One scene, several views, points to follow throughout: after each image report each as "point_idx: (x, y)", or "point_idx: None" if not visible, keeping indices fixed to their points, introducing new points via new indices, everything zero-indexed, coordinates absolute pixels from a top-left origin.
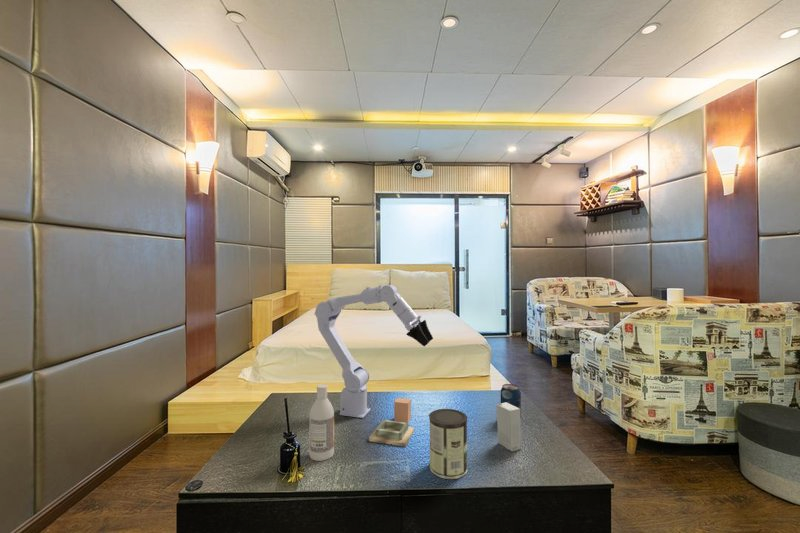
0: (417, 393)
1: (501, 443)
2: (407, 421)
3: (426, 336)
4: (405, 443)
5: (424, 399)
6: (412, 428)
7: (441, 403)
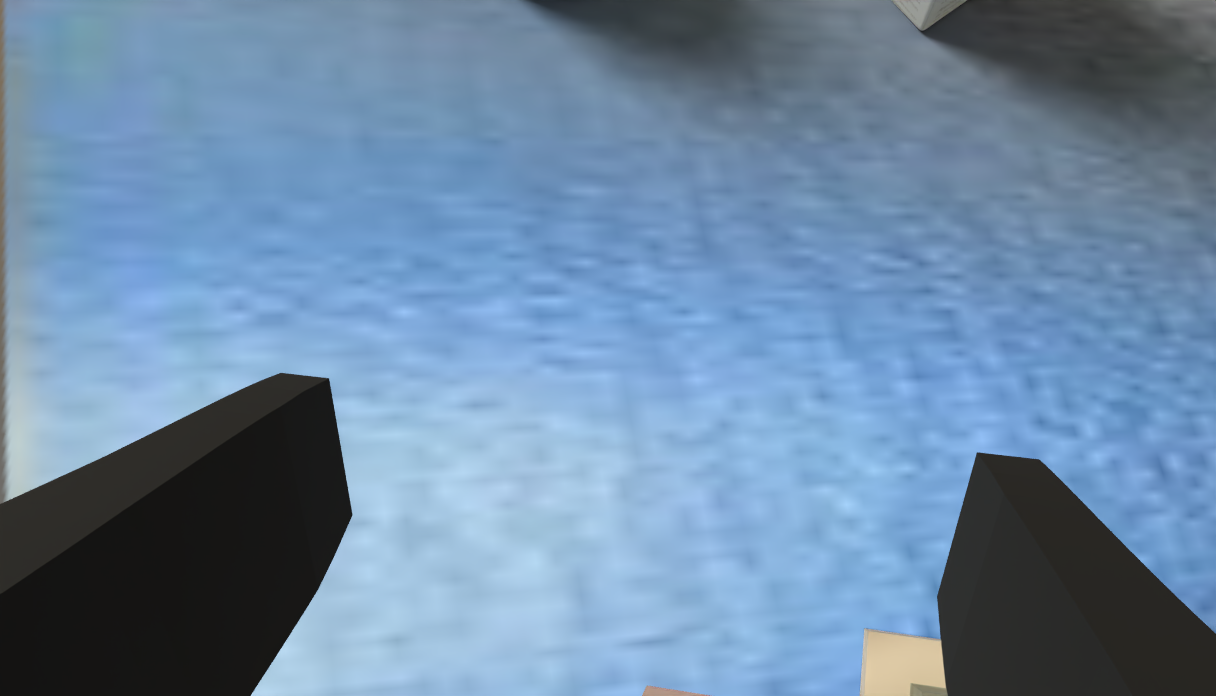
0: None
1: (955, 5)
2: None
3: (245, 596)
4: None
5: None
6: (891, 646)
7: None
